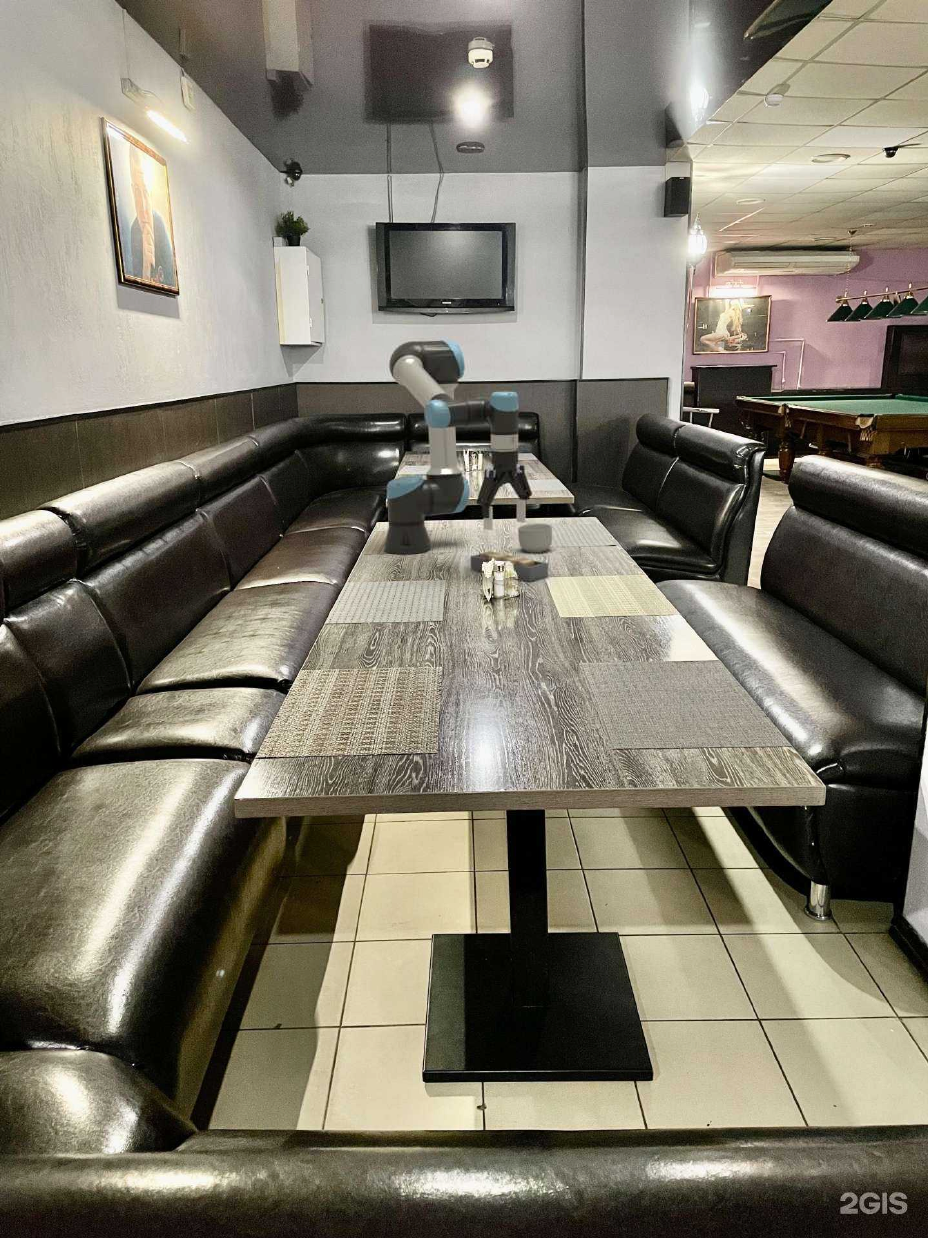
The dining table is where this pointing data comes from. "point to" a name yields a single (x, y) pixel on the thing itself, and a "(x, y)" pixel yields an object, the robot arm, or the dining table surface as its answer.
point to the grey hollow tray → (532, 571)
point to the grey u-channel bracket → (477, 562)
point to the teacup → (535, 537)
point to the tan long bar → (507, 558)
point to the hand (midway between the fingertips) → (504, 525)
